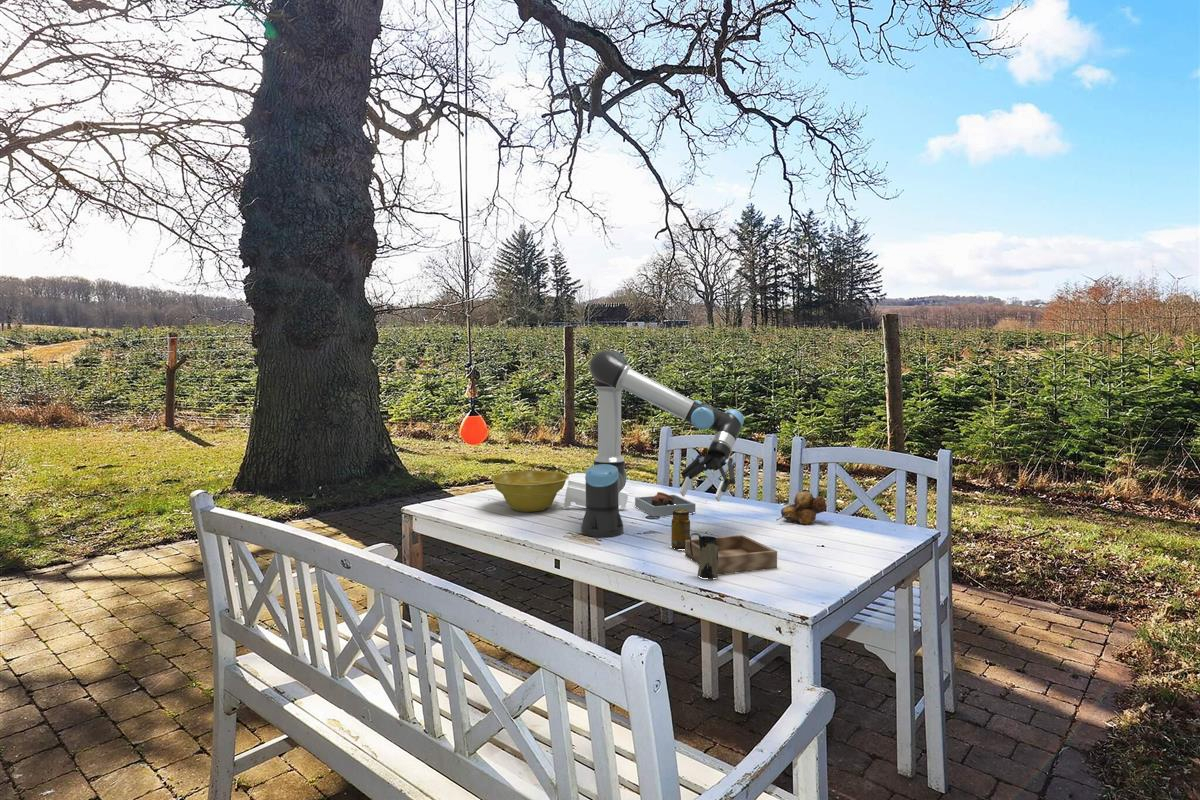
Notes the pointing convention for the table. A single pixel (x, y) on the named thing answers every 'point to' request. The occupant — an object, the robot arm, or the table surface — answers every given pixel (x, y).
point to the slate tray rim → (681, 504)
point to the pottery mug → (662, 500)
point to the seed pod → (804, 508)
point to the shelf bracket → (578, 495)
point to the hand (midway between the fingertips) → (699, 496)
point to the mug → (707, 556)
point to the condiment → (680, 529)
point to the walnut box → (737, 554)
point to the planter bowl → (529, 488)
